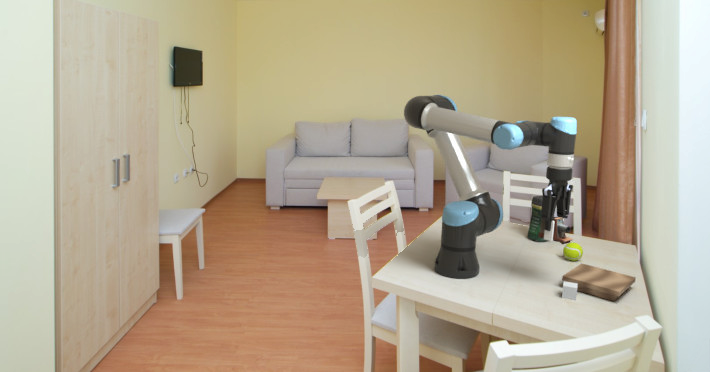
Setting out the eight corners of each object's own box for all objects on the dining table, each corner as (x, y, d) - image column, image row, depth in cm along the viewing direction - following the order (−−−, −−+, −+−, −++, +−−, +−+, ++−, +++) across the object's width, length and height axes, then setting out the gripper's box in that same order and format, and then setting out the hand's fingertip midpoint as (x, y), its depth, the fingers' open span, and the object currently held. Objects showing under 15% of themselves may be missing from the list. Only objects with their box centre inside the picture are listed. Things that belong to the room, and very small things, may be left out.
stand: (561, 287, 167) (562, 275, 166) (580, 274, 178) (581, 263, 177) (617, 304, 156) (619, 291, 155) (634, 289, 167) (635, 277, 166)
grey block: (561, 298, 159) (563, 285, 159) (562, 293, 163) (563, 281, 162) (575, 300, 158) (577, 288, 157) (576, 295, 161) (577, 283, 161)
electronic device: (564, 245, 162) (566, 221, 160) (537, 237, 169) (539, 215, 168) (572, 243, 164) (574, 219, 163) (546, 235, 172) (547, 213, 170)
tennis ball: (564, 262, 189) (566, 245, 188) (560, 256, 196) (562, 239, 194) (583, 264, 188) (586, 246, 187) (579, 257, 195) (581, 240, 193)
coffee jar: (537, 243, 210) (542, 198, 206) (524, 237, 217) (528, 194, 213) (556, 240, 214) (561, 196, 210) (542, 235, 221) (546, 192, 217)
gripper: (554, 171, 154) (547, 246, 159) (586, 166, 165) (578, 236, 170) (532, 167, 160) (526, 240, 165) (564, 162, 171) (557, 231, 175)
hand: (552, 238), depth 167 cm, fingers closed on electronic device, 4 cm apart
